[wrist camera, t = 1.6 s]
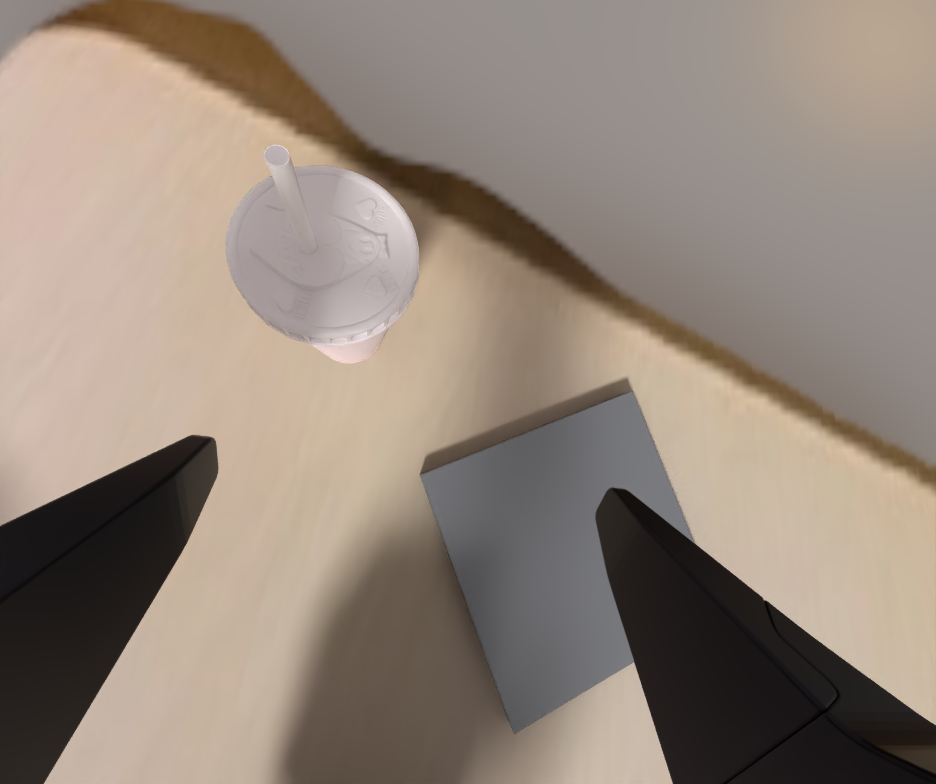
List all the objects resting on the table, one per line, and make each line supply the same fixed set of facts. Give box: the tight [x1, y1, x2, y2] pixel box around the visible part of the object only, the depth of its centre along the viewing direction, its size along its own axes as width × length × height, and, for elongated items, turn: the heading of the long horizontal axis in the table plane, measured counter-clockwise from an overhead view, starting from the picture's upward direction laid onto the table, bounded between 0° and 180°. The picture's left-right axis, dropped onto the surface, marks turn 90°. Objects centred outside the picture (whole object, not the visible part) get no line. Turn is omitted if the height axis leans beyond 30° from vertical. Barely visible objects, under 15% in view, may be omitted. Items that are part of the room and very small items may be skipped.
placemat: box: [420, 391, 694, 734], centre depth 23 cm, size 14×14×1 cm
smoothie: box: [226, 145, 419, 363], centre depth 16 cm, size 6×6×14 cm
